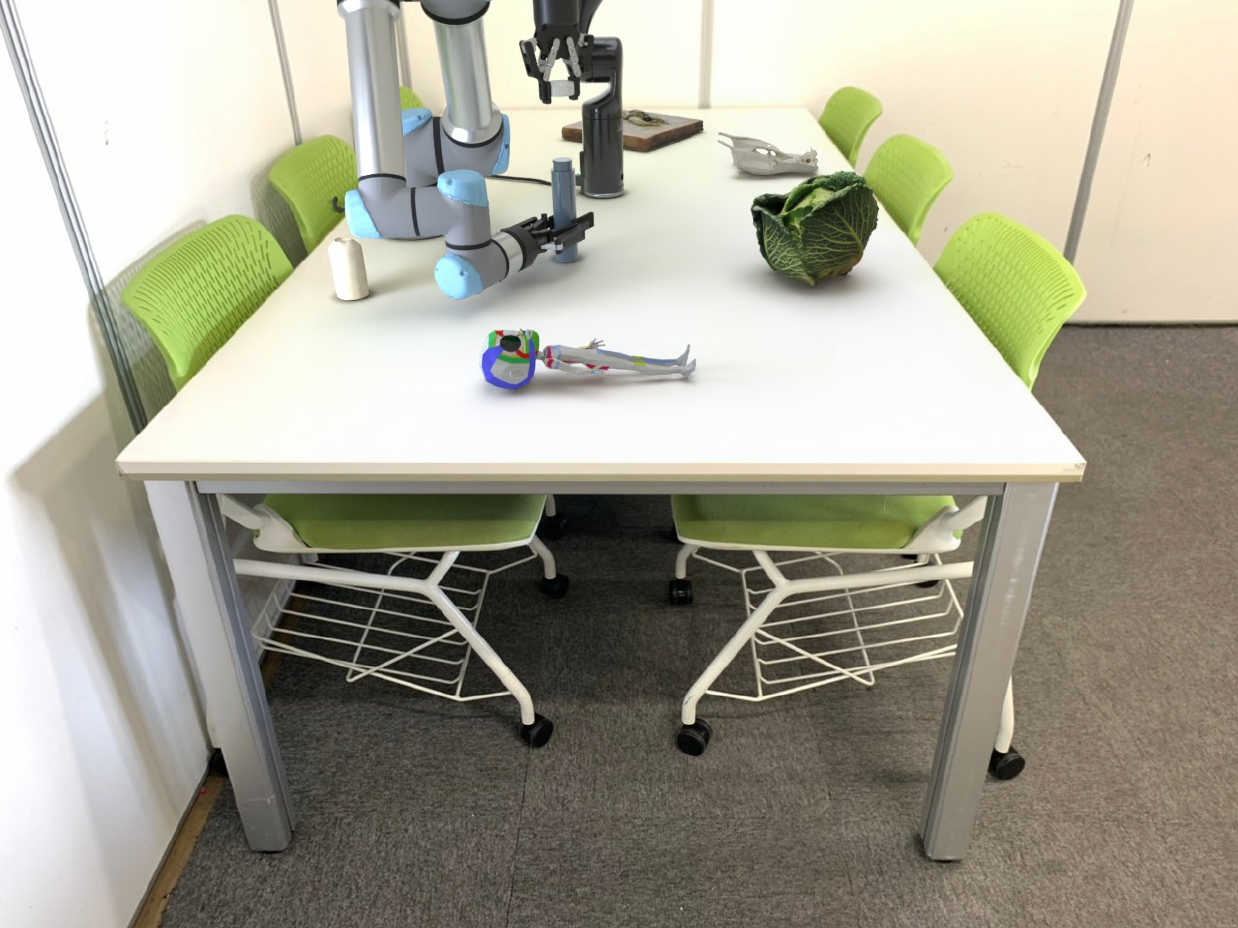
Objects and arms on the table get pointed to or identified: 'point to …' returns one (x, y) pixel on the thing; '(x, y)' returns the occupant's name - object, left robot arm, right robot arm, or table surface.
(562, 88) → the lid
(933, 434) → the table surface
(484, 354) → the toy
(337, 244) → the candle
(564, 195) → the blue slim bottle
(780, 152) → the anatomical model
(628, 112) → the plaque
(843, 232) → the vegetable
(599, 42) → the right robot arm
